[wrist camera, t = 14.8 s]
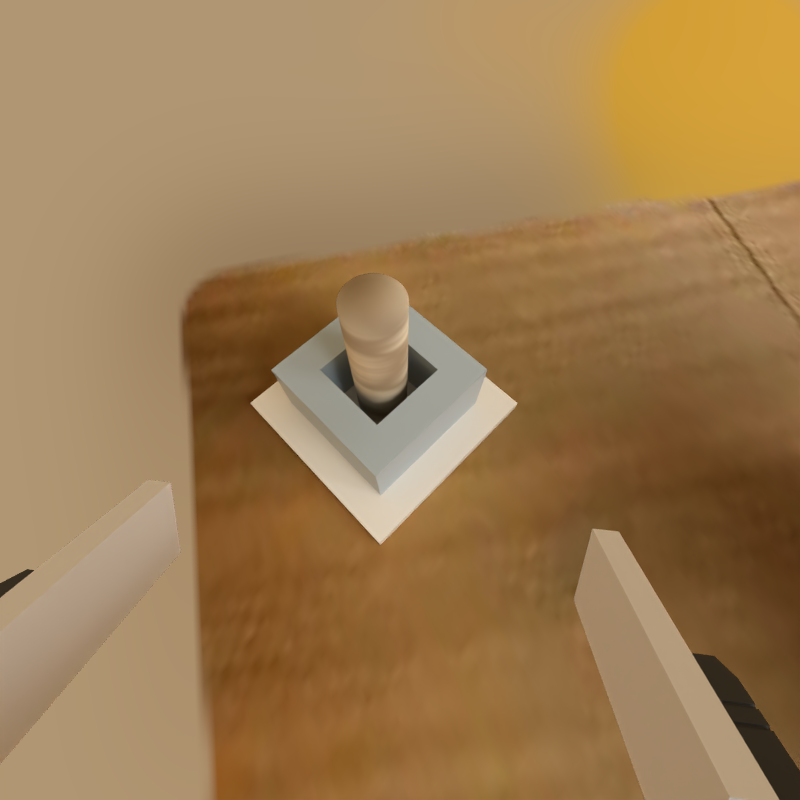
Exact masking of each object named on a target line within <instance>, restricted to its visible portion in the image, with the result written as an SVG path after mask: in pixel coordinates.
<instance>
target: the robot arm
mask: <svg viewBox="0 0 800 800" xmlns="http://www.w3.org/2000/svg"><path fill="white" fill-rule="evenodd" d="M180 553H181V550H180V543H179V536H178V529H177V522H176V515H175V508H174V501H173V494H172V488H171V482H165V481H156V480H147V481H146V482H144V483H143V484H142V485H141V486H139V487H138V488H137V489H136V490H134V491H133V492H132V493H131V494H129V495H128V496H127V497H126V498H124V499H123V500H122V501H121V502H119V503H118V504H117V505H116V506H114V507H113V508H112V509H111V510H109V511H108V512H107V513H106V514H104V515H103V516H102V517H101V518H99V519H98V520H97V521H96V522H94V523H93V524H92V525H91V526H90V527H88V528H87V529H86V530H84V531H83V532H82V533H81V534H80V535H78V536H77V537H76V538H74V539H73V540H72V541H71V542H69V543H68V544H67V545H66V546H64V547H63V548H62V549H61V550H59V551H58V552H57V553H56V554H55V555H53V556H52V557H51V558H49V559H48V560H47V561H46V562H45V563H43V564H42V565H41V566H40V567H38V568H37V569H36V570H28V569H27V570H25V571H23V572H21V573H19V574H17V575H15V576H14V577H12V578H10V579H8V580H6V581H4V582H2V583H0V764H1V763H2V761H3V760H4V759H5V758H6V757H7V756H8V755H9V753H10V752H11V751H12V750H13V749H14V748H15V746H16V745H17V744H18V743H19V742H20V740H21V739H22V738H23V737H24V736H25V735H26V733H27V732H28V731H29V730H30V729H31V728H32V726H33V725H34V724H35V723H36V722H37V721H38V719H39V718H40V717H41V716H42V715H43V713H44V712H45V711H46V710H47V709H48V708H49V706H50V705H51V704H52V703H53V702H54V700H55V699H56V698H57V697H58V696H59V695H60V694H61V692H62V691H63V690H64V689H65V688H66V686H67V685H68V684H69V683H70V682H71V681H72V679H73V678H74V677H75V676H76V675H77V674H78V672H79V671H80V670H81V669H82V668H83V666H84V665H85V664H86V663H87V662H88V661H89V659H90V658H91V657H92V656H93V655H94V654H95V652H96V651H97V650H98V649H99V648H100V647H101V645H102V644H103V643H104V642H105V641H106V640H107V638H108V637H109V636H110V635H111V634H112V632H113V631H114V630H115V629H116V628H117V627H118V625H119V624H120V623H121V622H122V621H123V620H124V618H125V617H126V616H127V615H128V614H129V613H130V611H131V610H132V609H133V608H134V607H135V606H136V604H137V603H138V602H139V601H140V600H141V598H142V597H143V596H144V595H145V594H146V593H147V591H148V590H149V589H150V588H151V587H152V586H153V584H154V583H155V582H156V581H157V580H158V578H159V577H160V576H161V575H162V574H163V573H164V571H165V570H166V569H167V568H168V567H169V566H170V564H171V563H172V562H173V561H174V560H175V559H176V557H177V556H178V555H179V554H180ZM574 603H575V605H576V608H577V611H578V614H579V617H580V619H581V622H582V625H583V628H584V631H585V633H586V636H587V639H588V642H589V645H590V647H591V650H592V653H593V656H594V659H595V661H596V664H597V667H598V670H599V673H600V675H601V678H602V681H603V684H604V686H605V689H606V692H607V695H608V698H609V700H610V703H611V706H612V709H613V712H614V714H615V717H616V720H617V723H618V726H619V728H620V731H621V734H622V737H623V740H624V742H625V745H626V748H627V751H628V754H629V756H630V759H631V762H632V765H633V768H634V770H635V773H636V776H637V779H638V782H639V784H640V787H641V790H642V793H643V796H644V798H645V800H800V771H799V769H798V768H797V766H796V765H795V763H794V762H793V760H792V759H791V757H790V756H789V754H788V753H787V751H786V750H785V748H784V747H783V745H782V744H781V742H780V741H779V739H778V738H777V736H776V735H775V733H774V732H773V731H771V730H770V728H769V724H768V723H767V721H766V720H765V718H764V717H763V715H762V714H761V712H760V711H759V709H756V708H755V703H754V702H753V700H752V699H751V697H750V696H749V694H748V693H747V691H746V690H745V688H744V687H743V685H742V684H741V682H740V681H739V679H738V678H737V677H736V676H735V675H734V674H732V673H731V672H730V671H729V670H728V669H727V668H726V667H725V666H724V665H723V664H722V663H721V662H720V661H719V660H718V659H717V658H716V657H715V656H709V655H702V654H694V653H691V651H690V650H689V648H688V646H687V645H686V643H685V641H684V640H683V638H682V636H681V634H680V633H679V631H678V629H677V628H676V626H675V624H674V623H673V621H672V619H671V618H670V616H669V614H668V613H667V611H666V609H665V608H664V606H663V604H662V603H661V601H660V599H659V598H658V596H657V594H656V593H655V591H654V589H653V588H652V586H651V584H650V583H649V581H648V579H647V578H646V576H645V574H644V573H643V571H642V569H641V568H640V566H639V564H638V563H637V561H636V559H635V558H634V556H633V554H632V553H631V551H630V549H629V548H628V546H627V544H626V543H625V541H624V539H623V538H622V536H621V534H620V533H619V531H610V530H601V529H592V532H591V536H590V540H589V543H588V547H587V551H586V555H585V559H584V563H583V566H582V570H581V574H580V578H579V582H578V585H577V589H576V593H575V597H574Z"/></svg>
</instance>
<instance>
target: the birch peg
mask: <svg viewBox="0 0 800 800" xmlns="http://www.w3.org/2000/svg"><path fill="white" fill-rule="evenodd" d="M336 309H337V313H338V317H339V322H340V326H341V330H342V334H343V339H344V343H345V347H346V351H347V355H348V360H349V364H350V368H351V372H352V376H353V381H354V385H355V389H356V393H357V398H358V402H359V406H360V409H361V410H362V411H363V412H364V413H365V414H366V415H367V416H368V417H369V418H370V419H371V420H372V421H373V422H374V423H375V424H377V425H378V424H379V423H380V422H381V421H382V420H383V419H384V418H385V417H386V416H388V415H389V414H390V413H391V412H392V411H393V410H394V409H395V408H396V407H397V406H399V405H400V404H401V403H402V402H403V401H404V400H405V399H406V398H407V382H408V330H409V297H408V294H407V291H406V290H405V288H404V287H403V285H402V284H401V283H400V282H399V281H397V280H396V279H394V278H392V277H390V276H388V275H384V274H379V273H368V274H363V275H359V276H357V277H355V278H353V279H351V280H349V281H348V282H347V283H346V284H345V285H344V286H343V287H342V288H341V290H340V291H339V293H338V296H337V299H336Z"/></svg>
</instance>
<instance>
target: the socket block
mask: <svg viewBox="0 0 800 800" xmlns="http://www.w3.org/2000/svg"><path fill="white" fill-rule="evenodd" d="M271 370H272V372H273V374H274V375H275V377H276V379H277V380H278V381H277V382H276V383H275V384H273V385H272V386H271V387H270V388H268V389H267V390H266V391H265V392H263V393H262V394H261V395H260V396H258V397H257V398H256V399H255V400H253V401H252V402H251V405H252V406H253V407H254V408H255V409H256V410H257V412H258V413H259V414H260V415H261V416H262V417H263V418H264V419H265V420H266V421H267V422H268V423H269V425H270V426H271V427H272V428H273V429H274V430H275V431H276V432H277V433H278V434H279V435H280V437H281V438H282V439H283V440H284V441H285V442H286V443H287V444H288V445H289V446H290V447H291V448H292V450H293V451H294V452H295V453H296V454H297V455H298V456H299V457H300V458H301V459H302V460H303V462H304V463H305V464H306V465H307V466H308V467H309V468H310V469H311V470H312V471H313V472H314V473H315V475H316V476H317V477H318V478H319V479H320V480H321V481H322V482H323V483H324V484H325V485H326V487H327V488H328V489H329V490H330V491H331V492H332V493H333V494H334V495H335V496H336V497H337V498H338V500H339V501H340V502H341V503H342V504H343V505H344V506H345V507H346V508H347V509H348V510H349V511H350V513H351V514H352V515H353V516H354V517H355V518H356V519H357V520H358V521H359V522H360V523H361V525H362V526H363V527H364V528H365V529H366V530H367V531H368V532H369V533H370V534H371V535H372V536H373V538H374V539H375V540H376V541H377V542H378V543H379V544H380V545H381V544H382V543H383V542H384V541H385V540H386V539H387V538H388V537H389V536H390V535H391V534H392V533H393V532H394V531H395V530H396V529H397V528H398V527H399V526H400V525H401V524H402V523H403V522H404V521H405V520H406V519H407V518H408V516H409V515H410V514H411V513H412V512H413V511H414V510H415V509H416V508H417V507H418V506H419V505H420V504H421V503H422V502H423V501H424V500H425V499H426V498H427V497H428V496H429V495H430V494H431V493H432V492H433V491H434V490H435V489H436V488H437V487H438V486H439V485H440V484H441V483H442V482H443V481H444V480H445V479H446V478H447V477H448V476H449V475H450V474H451V473H452V472H453V471H454V470H455V469H456V468H457V467H458V466H459V465H460V464H461V463H462V462H463V460H464V459H465V458H466V457H467V456H468V455H469V454H470V453H471V452H472V451H473V450H474V449H475V448H476V447H477V446H478V445H479V444H480V443H481V442H482V441H483V440H484V439H485V438H486V437H487V436H488V435H489V434H490V433H491V432H492V431H493V430H494V429H495V428H496V427H497V426H498V425H499V424H500V423H501V422H502V421H503V420H504V419H505V418H506V417H507V416H508V415H509V414H510V413H511V412H512V411H513V410H514V408H515V407H516V405H517V402H515V401H514V400H513V399H512V398H511V397H509V396H508V395H507V394H506V393H505V392H503V391H502V390H501V389H500V388H499V387H497V386H496V385H495V384H494V383H492V382H491V381H490V380H489V379H488V378H486V377H485V375H486V372H487V369H486V368H485V367H484V366H482V365H481V364H480V363H479V362H477V361H476V360H475V359H474V358H473V357H471V356H470V355H469V354H468V353H467V352H465V351H464V350H463V349H462V348H460V347H459V346H458V345H457V344H456V343H454V342H453V341H452V340H451V339H449V338H448V337H447V336H446V335H445V334H443V333H442V332H441V331H440V330H438V329H437V328H436V327H435V326H434V325H432V324H431V323H430V322H429V321H428V320H426V319H425V318H424V317H423V316H421V315H420V314H419V313H418V312H417V311H415V310H414V309H413V308H412V307H410V306H409V330H408V382H407V398H406V399H405V400H404V401H403V402H402V403H401V404H400V405H399V406H397V407H396V408H395V409H394V410H393V411H392V412H391V413H390V414H389V415H388V416H386V417H385V418H384V419H383V420H382V421H381V422H380V423H379V424H378V425H377V424H375V423H374V422H373V421H372V420H371V419H370V418H369V417H368V416H367V415H366V414H365V413H364V412H363V411H362V410H361V409H360V406H359V402H358V398H357V393H356V389H355V385H354V381H353V376H352V372H351V368H350V364H349V360H348V355H347V351H346V347H345V343H344V339H343V334H342V330H341V326H340V322H339V317H337V318H336V319H335V320H334V321H332V322H331V323H330V324H329V325H327V326H326V327H325V328H324V329H322V330H321V331H320V332H318V333H317V334H316V335H315V336H313V337H312V338H311V339H310V340H308V341H307V342H306V343H304V344H303V345H302V346H301V347H299V348H298V349H297V350H296V351H294V352H293V353H292V354H291V355H289V356H288V357H287V358H285V359H284V360H283V361H282V362H280V363H279V364H278V365H277V366H275V367H274V368H273V369H271Z"/></svg>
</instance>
